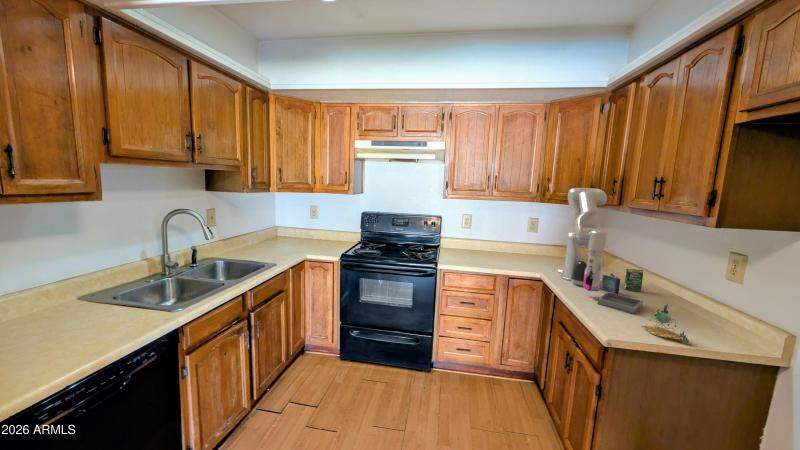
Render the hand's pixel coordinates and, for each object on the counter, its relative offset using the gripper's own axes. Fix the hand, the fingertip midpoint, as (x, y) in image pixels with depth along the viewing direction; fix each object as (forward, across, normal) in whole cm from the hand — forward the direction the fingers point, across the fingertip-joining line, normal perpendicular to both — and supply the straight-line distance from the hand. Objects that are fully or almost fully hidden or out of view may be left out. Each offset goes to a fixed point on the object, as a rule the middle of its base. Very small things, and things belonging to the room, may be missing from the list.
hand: (591, 282), depth 172 cm
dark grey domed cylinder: (+9, +18, +11) cm, 23 cm away
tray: (+8, -1, -15) cm, 17 cm away
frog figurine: (+7, -25, -36) cm, 44 cm away
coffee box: (+9, +33, -13) cm, 36 cm away
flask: (+9, +19, -5) cm, 21 cm away
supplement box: (+4, 0, 0) cm, 4 cm away
